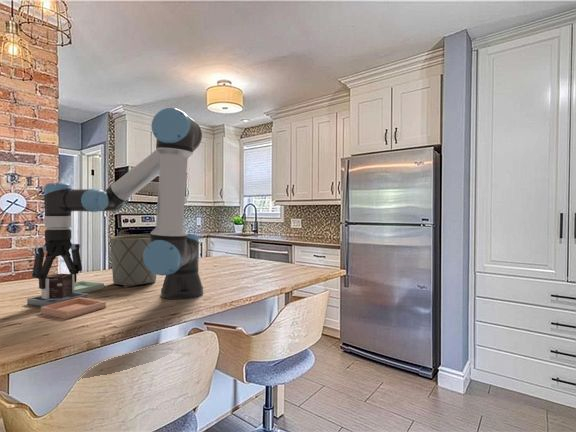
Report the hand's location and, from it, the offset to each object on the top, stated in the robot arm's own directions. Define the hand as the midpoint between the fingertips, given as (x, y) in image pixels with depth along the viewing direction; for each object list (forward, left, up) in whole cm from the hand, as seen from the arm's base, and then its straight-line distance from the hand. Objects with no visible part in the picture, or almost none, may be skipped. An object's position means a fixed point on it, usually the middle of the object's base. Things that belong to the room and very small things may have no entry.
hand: (58, 295), depth 114 cm
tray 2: (-14, +4, -2) cm, 15 cm away
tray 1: (0, 0, -2) cm, 2 cm away
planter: (+1, -33, -3) cm, 33 cm away
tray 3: (+10, -14, -2) cm, 17 cm away
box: (0, 0, -1) cm, 1 cm away
